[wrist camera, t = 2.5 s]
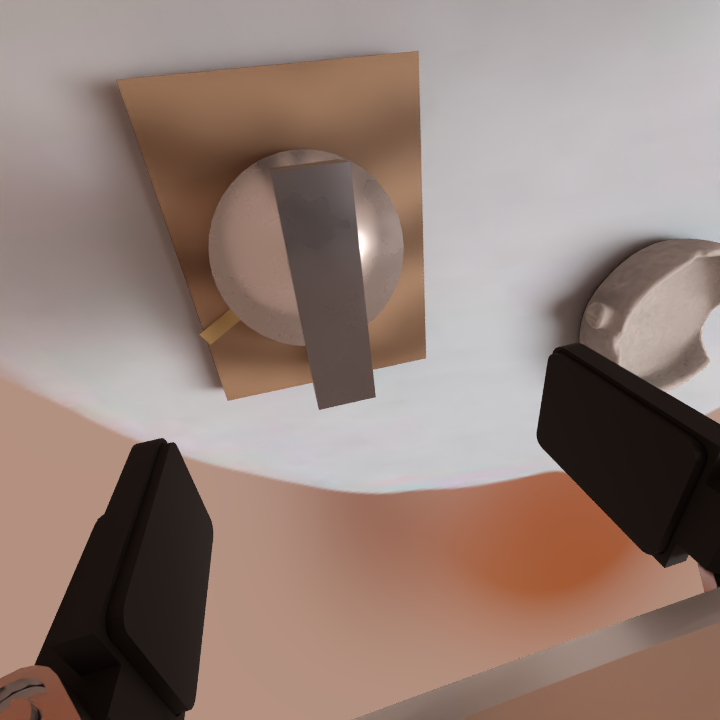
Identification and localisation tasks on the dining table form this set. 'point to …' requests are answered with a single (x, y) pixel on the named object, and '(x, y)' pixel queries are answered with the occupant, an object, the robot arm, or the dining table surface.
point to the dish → (656, 311)
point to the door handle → (310, 262)
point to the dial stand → (264, 138)
